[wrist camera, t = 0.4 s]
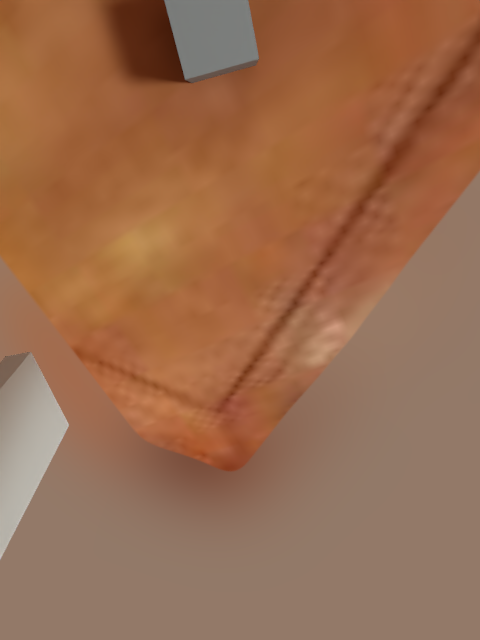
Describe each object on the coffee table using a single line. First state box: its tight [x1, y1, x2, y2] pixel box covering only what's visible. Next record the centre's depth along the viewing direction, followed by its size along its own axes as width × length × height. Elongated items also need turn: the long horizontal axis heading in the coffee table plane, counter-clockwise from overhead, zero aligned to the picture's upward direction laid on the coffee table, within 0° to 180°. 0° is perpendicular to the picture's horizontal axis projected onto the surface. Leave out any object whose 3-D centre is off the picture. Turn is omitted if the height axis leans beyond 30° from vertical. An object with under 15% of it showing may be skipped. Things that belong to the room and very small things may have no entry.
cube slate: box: [164, 0, 259, 83], centre depth 28 cm, size 5×5×5 cm
